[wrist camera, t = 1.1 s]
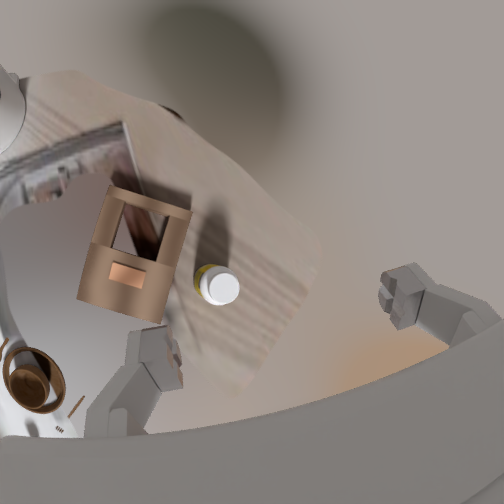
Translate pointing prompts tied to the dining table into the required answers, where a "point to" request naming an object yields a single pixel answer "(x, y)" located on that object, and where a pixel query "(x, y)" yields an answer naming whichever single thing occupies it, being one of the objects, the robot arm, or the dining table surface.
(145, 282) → the block
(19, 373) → the place setting
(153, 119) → the dining table surface
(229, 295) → the supplement bottle
